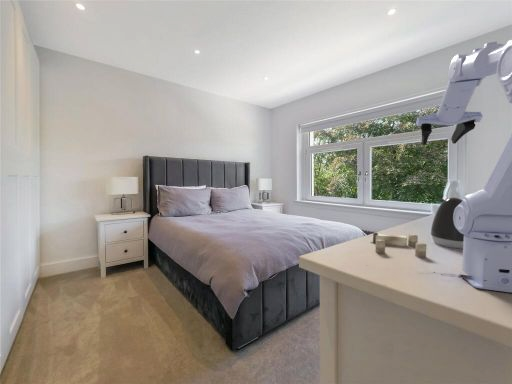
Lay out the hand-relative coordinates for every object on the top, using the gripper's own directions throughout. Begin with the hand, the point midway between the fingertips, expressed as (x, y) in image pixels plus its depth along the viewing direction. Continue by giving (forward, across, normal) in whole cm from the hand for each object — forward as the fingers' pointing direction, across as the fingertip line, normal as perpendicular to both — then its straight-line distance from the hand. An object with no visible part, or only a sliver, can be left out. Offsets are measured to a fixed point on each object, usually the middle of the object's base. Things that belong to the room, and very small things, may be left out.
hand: (438, 142), depth 71 cm
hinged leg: (+13, +14, +29) cm, 35 cm away
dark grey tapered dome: (+18, -3, +27) cm, 33 cm away
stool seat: (+10, +14, +34) cm, 38 cm away
